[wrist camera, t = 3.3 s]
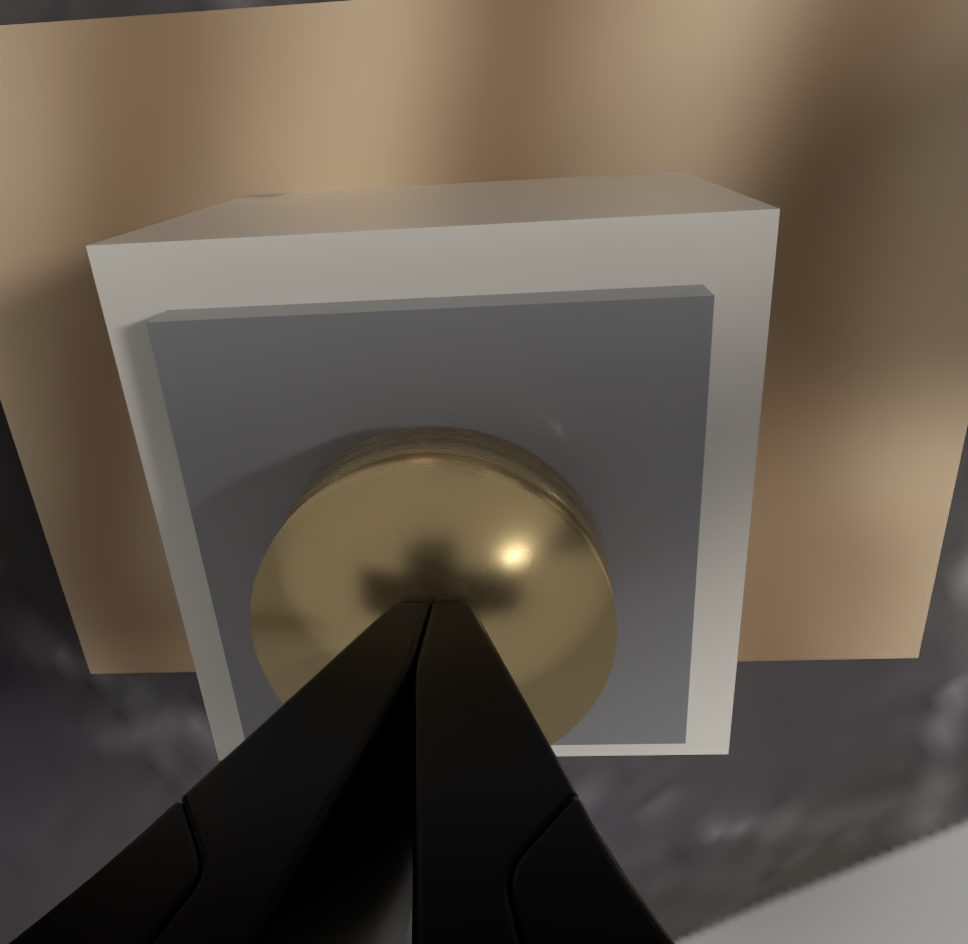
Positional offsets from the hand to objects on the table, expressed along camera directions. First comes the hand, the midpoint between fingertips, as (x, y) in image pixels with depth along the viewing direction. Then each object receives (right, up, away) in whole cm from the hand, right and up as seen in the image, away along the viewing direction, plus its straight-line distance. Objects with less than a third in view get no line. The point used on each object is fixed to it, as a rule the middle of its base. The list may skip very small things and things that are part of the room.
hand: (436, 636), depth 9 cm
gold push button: (0, +3, +6) cm, 7 cm away
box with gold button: (0, +3, +7) cm, 8 cm away
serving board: (0, +4, +8) cm, 9 cm away
